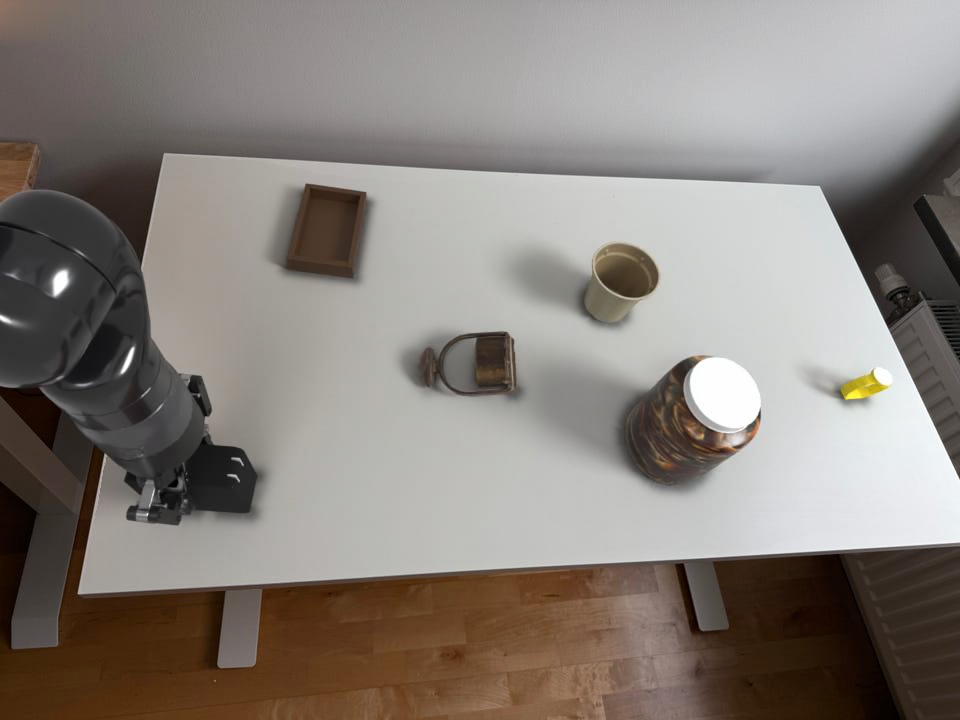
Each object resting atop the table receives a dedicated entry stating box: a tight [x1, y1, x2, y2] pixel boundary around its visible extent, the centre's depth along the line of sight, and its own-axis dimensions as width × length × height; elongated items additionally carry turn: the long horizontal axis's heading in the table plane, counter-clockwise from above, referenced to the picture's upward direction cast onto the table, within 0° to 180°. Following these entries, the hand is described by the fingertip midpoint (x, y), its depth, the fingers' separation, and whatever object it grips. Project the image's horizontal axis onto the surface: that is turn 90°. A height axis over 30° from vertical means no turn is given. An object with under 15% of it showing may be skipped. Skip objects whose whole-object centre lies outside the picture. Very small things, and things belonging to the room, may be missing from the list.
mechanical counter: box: [418, 330, 517, 397], centre depth 75 cm, size 7×13×10 cm
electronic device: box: [123, 444, 258, 514], centre depth 61 cm, size 4×10×10 cm, turn 88°
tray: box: [286, 182, 368, 279], centre depth 84 cm, size 9×14×2 cm, turn 177°
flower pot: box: [583, 241, 662, 324], centre depth 83 cm, size 9×9×9 cm
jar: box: [623, 354, 762, 487], centre depth 71 cm, size 12×12×15 cm
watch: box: [839, 366, 893, 401], centre depth 83 cm, size 6×3×6 cm, turn 99°
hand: (195, 477), depth 61 cm, fingers open, 5 cm apart
